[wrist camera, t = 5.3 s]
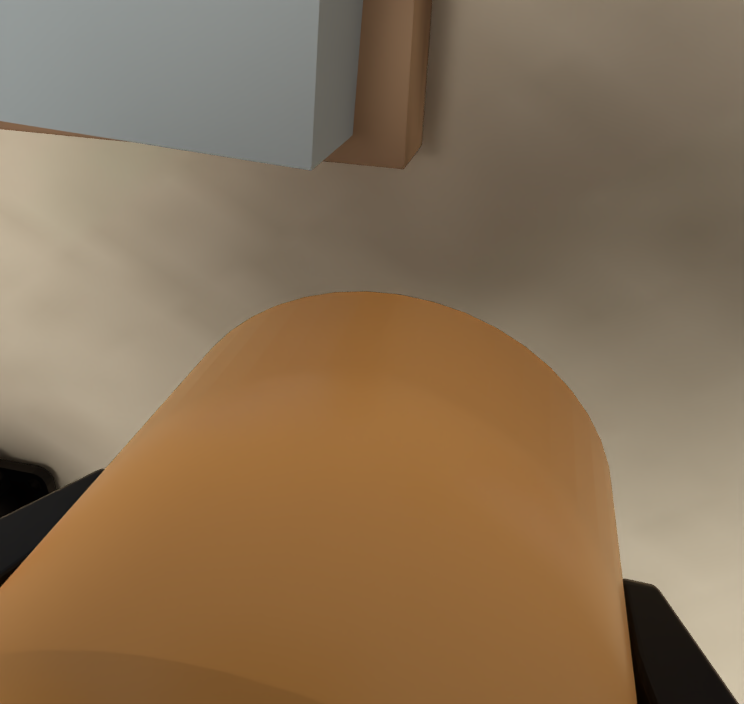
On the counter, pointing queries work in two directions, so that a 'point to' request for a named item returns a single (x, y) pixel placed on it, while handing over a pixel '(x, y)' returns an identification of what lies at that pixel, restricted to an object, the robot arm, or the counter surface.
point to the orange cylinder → (337, 530)
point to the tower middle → (187, 73)
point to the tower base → (374, 86)
